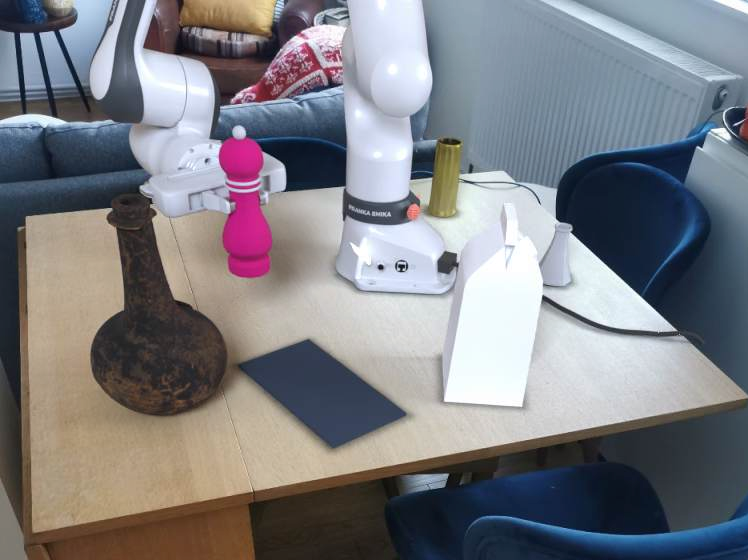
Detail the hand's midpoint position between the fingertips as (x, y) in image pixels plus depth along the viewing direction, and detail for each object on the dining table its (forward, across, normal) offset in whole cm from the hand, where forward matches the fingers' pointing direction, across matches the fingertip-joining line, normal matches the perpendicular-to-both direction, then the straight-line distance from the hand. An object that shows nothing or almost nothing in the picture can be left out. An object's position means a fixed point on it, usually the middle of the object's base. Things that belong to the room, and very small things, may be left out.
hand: (248, 203), depth 106 cm
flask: (+13, +57, +22) cm, 62 cm away
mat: (+18, -1, +21) cm, 28 cm away
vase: (-21, +60, +22) cm, 67 cm away
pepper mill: (-1, 0, +10) cm, 10 cm away
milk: (+29, +21, +22) cm, 42 cm away
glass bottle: (+6, -19, +21) cm, 29 cm away
